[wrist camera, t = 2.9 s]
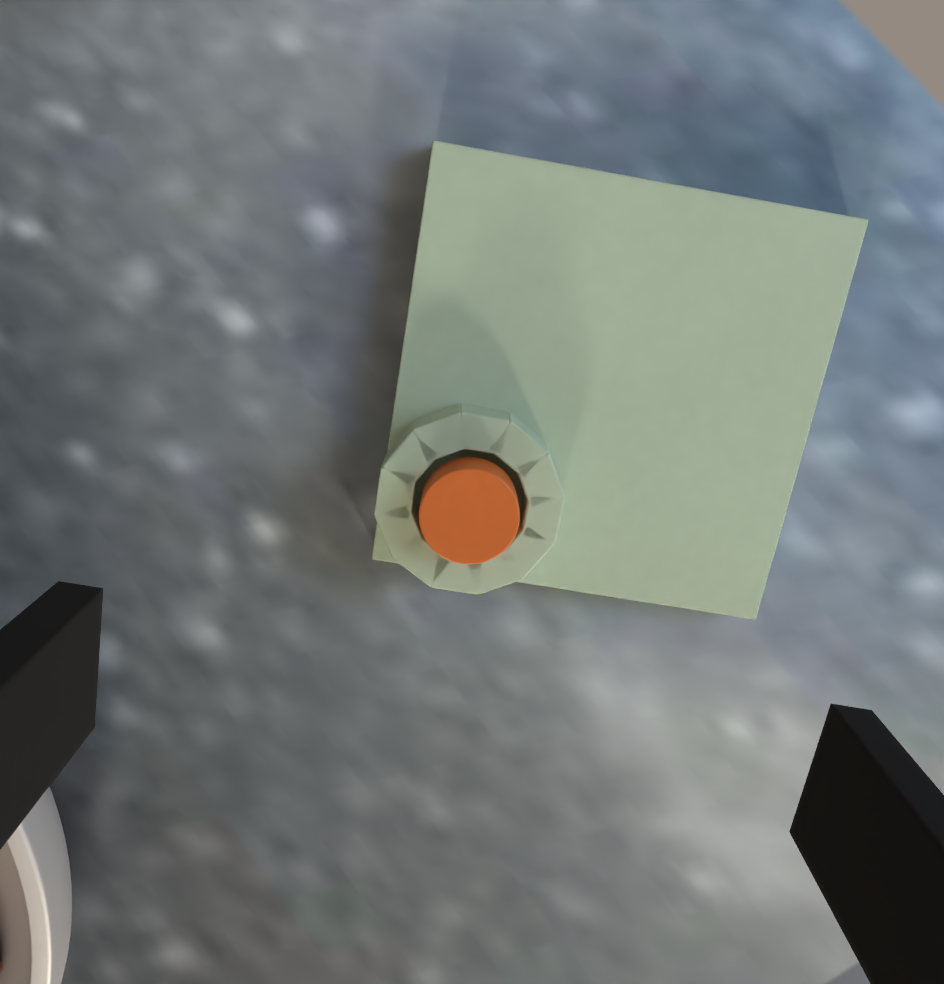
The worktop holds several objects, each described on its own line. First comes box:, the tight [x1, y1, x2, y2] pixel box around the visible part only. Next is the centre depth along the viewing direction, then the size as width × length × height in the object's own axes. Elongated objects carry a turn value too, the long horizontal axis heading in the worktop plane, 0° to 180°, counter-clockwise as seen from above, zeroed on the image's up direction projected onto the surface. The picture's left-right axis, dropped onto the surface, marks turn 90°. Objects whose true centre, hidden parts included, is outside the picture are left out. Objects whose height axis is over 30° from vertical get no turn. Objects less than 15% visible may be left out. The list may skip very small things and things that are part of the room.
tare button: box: [419, 457, 520, 564], centre depth 28 cm, size 3×3×2 cm
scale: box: [372, 140, 868, 619], centre depth 29 cm, size 14×14×3 cm
